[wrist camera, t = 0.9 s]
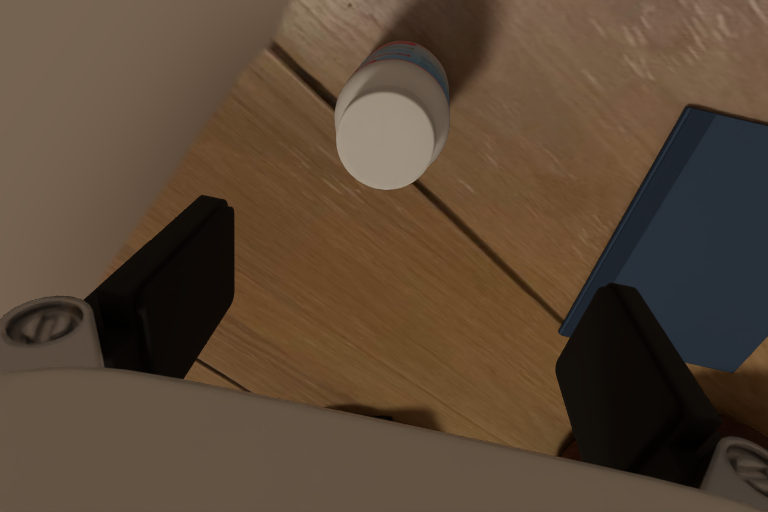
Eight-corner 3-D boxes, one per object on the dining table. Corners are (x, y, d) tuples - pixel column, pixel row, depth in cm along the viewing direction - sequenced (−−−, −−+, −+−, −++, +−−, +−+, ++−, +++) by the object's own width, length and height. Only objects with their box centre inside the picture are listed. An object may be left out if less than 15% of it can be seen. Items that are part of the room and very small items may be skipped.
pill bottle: (405, 17, 27) (387, 38, 18) (466, 93, 29) (480, 148, 20) (339, 86, 30) (293, 137, 20) (400, 151, 32) (383, 225, 22)
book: (685, 105, 28) (689, 107, 28) (923, 161, 28) (930, 164, 28) (557, 331, 39) (559, 335, 39) (730, 369, 39) (733, 374, 39)
